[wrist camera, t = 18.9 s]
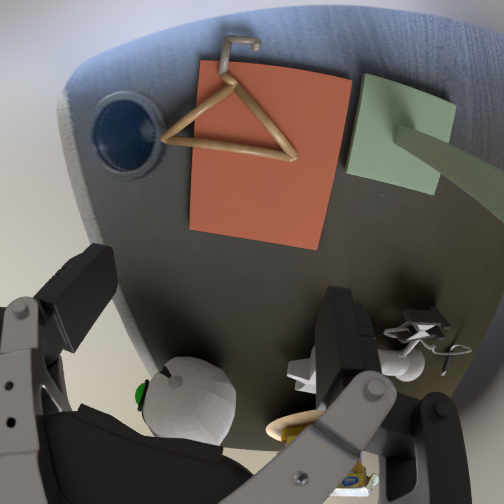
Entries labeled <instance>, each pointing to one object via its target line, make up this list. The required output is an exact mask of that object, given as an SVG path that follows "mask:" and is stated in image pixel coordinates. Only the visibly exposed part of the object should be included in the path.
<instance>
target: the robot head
mask: <svg viewBox="0 0 504 504" xmlns="http://www.w3.org/2000/svg"><path fill="white" fill-rule="evenodd" d="M135 399H136V403H137V404H138V411H142V416H143V419H144V421H145V423H146V424H147V425H148V427H149V429H150V430H151V432H152V434H153V435H154V436H155V437H165V438H186V439H190V440H194V441H199V442H203V443H208V444H213V445H218V446H219V445H220V443H221V442H222V440H223V439H224V437H225V436H226V435H227V433H228V431H229V429H230V426H231V424H232V421H233V418H234V415H235V404H236V390H235V389H234V387H233V386H232V384H231V382H230V381H229V379H228V378H227V376H226V374H225V373H224V371H223V370H221V369H219V368H217V367H216V366H214V365H212V364H210V363H208V362H206V361H204V360H201V359H197V358H193V357H175V358H173V359H171V360H169V361H168V362H167V363H166V364H165V366H164V367H163V370H162V371H161V372H159V373H156V374H155V375H154V377H153V378H152V379H151V381H150V382H149V380H145V383H143V384H141V385H140V386H139V387H138V388H137V390H136V394H135Z"/></svg>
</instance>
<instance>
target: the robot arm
mask: <svg viewBox="0 0 504 504" xmlns="http://www.w3.org/2000/svg"><path fill="white" fill-rule="evenodd" d="M117 284H118V280H117V273H116V267H115V260H114V254H113V249H112V248H111V247H110V246H106V245H101V244H95V243H93V244H91V245H90V246H89V247H88V248H87V249H86V250H85V251H84V252H83V253H82V254H79V255H77V256H75V257H73V258H71V259H69V260H68V261H67V262H66V263H65V264H64V265H63V266H62V268H61V269H59V270H58V271H57V273H55V276H53V277H52V278H51V279H50V280H49V281H48V282H47V283H46V284H45V285H44V286H43V287H42V288H41V289H40V290H39V292H37V294H36V295H35V296H34V297H33V298H32V297H21V298H18V299H16V300H14V301H12V302H11V303H10V304H9V305H8V306H7V307H0V504H323V502H324V501H325V500H326V499H327V498H328V497H329V496H330V495H331V494H332V492H333V491H334V490H335V489H336V488H337V487H338V485H339V484H340V483H341V482H342V481H343V479H344V478H345V477H346V476H347V474H348V473H349V472H350V471H351V469H352V468H353V467H354V466H355V464H356V463H357V461H358V460H359V458H360V456H361V455H360V453H361V452H362V450H363V451H367V452H370V453H373V454H377V455H379V499H378V500H379V501H378V504H472V497H471V487H470V477H469V470H468V463H467V456H466V451H465V444H464V439H463V433H462V428H461V423H460V419H459V414H458V410H457V407H456V405H455V403H454V402H453V400H452V399H451V398H450V397H448V396H447V395H445V394H443V393H440V392H432V393H429V394H427V395H426V396H425V397H424V398H423V399H422V400H419V399H416V398H413V397H410V396H406V395H403V394H401V393H399V392H397V391H396V388H395V386H394V384H393V382H392V381H391V380H390V379H389V378H388V377H387V376H386V375H384V374H383V373H382V369H381V364H380V359H379V354H378V350H377V345H376V341H375V338H374V332H373V329H372V323H371V319H370V315H369V314H368V313H367V311H366V310H365V309H364V307H363V306H362V305H360V304H354V303H353V298H352V293H351V290H350V288H343V287H337V286H330V285H329V286H328V288H327V290H326V293H325V296H324V299H323V302H322V305H321V308H320V311H319V314H318V317H317V321H316V326H315V360H316V411H325V412H324V413H323V414H322V415H321V416H320V417H319V418H318V419H317V420H316V421H315V422H312V423H310V424H309V425H308V426H307V427H306V428H305V429H304V430H303V431H302V432H301V433H300V434H299V435H298V436H297V437H296V438H295V439H294V440H293V441H292V442H291V443H290V444H288V445H287V446H286V447H285V448H284V449H283V450H282V451H281V452H280V453H279V454H278V455H277V456H276V457H274V458H273V459H272V460H271V461H270V462H269V463H268V464H266V465H265V466H264V467H263V468H262V469H261V470H260V471H258V472H257V473H256V474H255V475H253V474H252V473H251V472H250V471H249V470H248V469H247V468H245V467H244V466H242V465H241V464H240V463H238V462H236V461H234V460H232V459H231V458H228V457H226V456H224V455H223V446H218V445H213V444H208V443H203V442H199V441H194V440H190V439H186V438H165V437H149V436H143V435H141V434H139V433H137V432H136V431H134V430H133V429H131V428H130V427H128V426H126V425H125V424H123V423H122V422H120V421H119V420H117V419H116V418H114V417H113V416H111V415H109V414H106V413H103V412H101V411H98V410H96V409H94V408H91V407H89V406H86V405H84V404H81V405H80V407H79V408H78V411H72V409H71V407H70V405H69V401H68V398H67V392H66V386H65V380H64V372H63V364H62V358H61V355H60V353H61V352H62V350H63V349H64V350H66V351H69V352H71V353H75V351H76V350H77V348H78V347H79V345H80V344H81V342H82V341H83V339H84V338H85V336H86V335H87V333H88V332H89V330H90V329H91V327H92V326H93V324H94V323H95V321H96V320H97V318H98V317H99V316H100V314H101V313H102V311H103V310H104V308H105V307H106V306H107V304H108V303H109V301H110V300H111V299H112V297H113V296H114V294H115V292H116V289H117Z"/></svg>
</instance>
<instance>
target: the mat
mask: <svg viewBox="0 0 504 504" xmlns="http://www.w3.org/2000/svg"><path fill="white" fill-rule="evenodd" d="M219 64H220V61H215V60H201V62H200V71H199V80H198V90H197V101H196V107H197V106H198V105H200V104H201V103H203V102H204V101H205V100H207V99H208V98H209V97H211V96H212V95H213V94H215V93H216V92H218V91H219V90H221V89H222V88H223V87H225V86H226V85H228V84H227V83H226V82H225V81H224V80H223V79H222V78H220V77H219V75H218V71H219ZM227 72H228V73H229V74H230V75H231V76H232V77H233V78H234V79H235V80H236V81H238V82H239V83H240V84H241V85H242V86H243V87H244V88H245V90H246V91H247V92H248V93H249V94H250V95H251V96H252V98H253V99H254V100H255V101H256V102H257V103H258V105H259V106H260V107H261V108H262V109H263V111H264V112H265V113H266V114H267V115H268V117H269V118H270V119H271V120H272V121H273V123H274V124H275V125H276V126H277V128H278V129H279V130H280V131H281V133H282V134H283V135H284V136H285V138H286V139H287V140H288V141H289V143H290V144H291V145H292V147H293V148H294V149H295V150H296V152H297V153H298V155H299V158H298V160H296V161H292V162H287V161H282V160H277V159H271V158H266V157H260V156H254V155H248V154H241V153H235V152H228V151H221V150H214V149H206V148H198V147H193V154H192V172H191V195H190V227H189V229H191V230H197V231H203V232H210V233H216V234H222V235H228V236H235V237H241V238H247V239H253V240H259V241H265V242H271V243H277V244H283V245H289V246H295V247H301V248H307V249H313V250H317V247H318V243H319V239H320V235H321V231H322V227H323V223H324V219H325V215H326V211H327V206H328V202H329V198H330V193H331V189H332V184H333V180H334V175H335V171H336V166H337V161H338V156H339V151H340V146H341V141H342V136H343V131H344V126H345V121H346V115H347V110H348V104H349V98H350V92H351V86H352V80H349V79H345V78H341V77H336V76H332V75H327V74H322V73H317V72H312V71H306V70H300V69H294V68H288V67H281V66H273V65H265V64H256V63H245V62H232V61H229V63H228V70H227ZM194 138H200V139H208V140H216V141H224V142H231V143H238V144H245V145H251V146H257V147H263V148H269V149H275V150H280V151H283V149H282V148H281V147H280V146H279V144H278V143H277V142H276V141H275V139H274V138H273V137H272V136H271V134H270V133H269V132H268V131H267V129H266V128H265V127H264V126H263V125H262V123H261V122H260V121H259V120H258V119H257V117H256V116H255V115H254V114H253V113H252V111H251V110H250V109H249V108H248V107H247V106H246V104H245V103H244V102H243V101H242V100H241V99H240V98H239V96H238V95H237V94H236V93H235V92H233V93H231V94H230V95H228V96H227V97H225V98H224V99H223V100H221V101H220V102H218V103H217V104H215V105H214V106H213V107H211V108H210V109H209V110H207V111H206V112H204V113H203V114H202V115H200V116H199V117H198V118H196V119H195V125H194Z"/></svg>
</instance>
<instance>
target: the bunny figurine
mask: <svg viewBox="0 0 504 504" xmlns="http://www.w3.org/2000/svg"><path fill="white" fill-rule="evenodd" d="M374 338H375V337H374ZM287 376H289V377H291V378H293V379H295V380H296V383H295V390H298V391H303V392H309V393H314V394H316V360H315V345H314V347H313V349H312V351H311V357H310V358H309V359H303V360H296V361H289V364H288V371H287Z"/></svg>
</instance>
